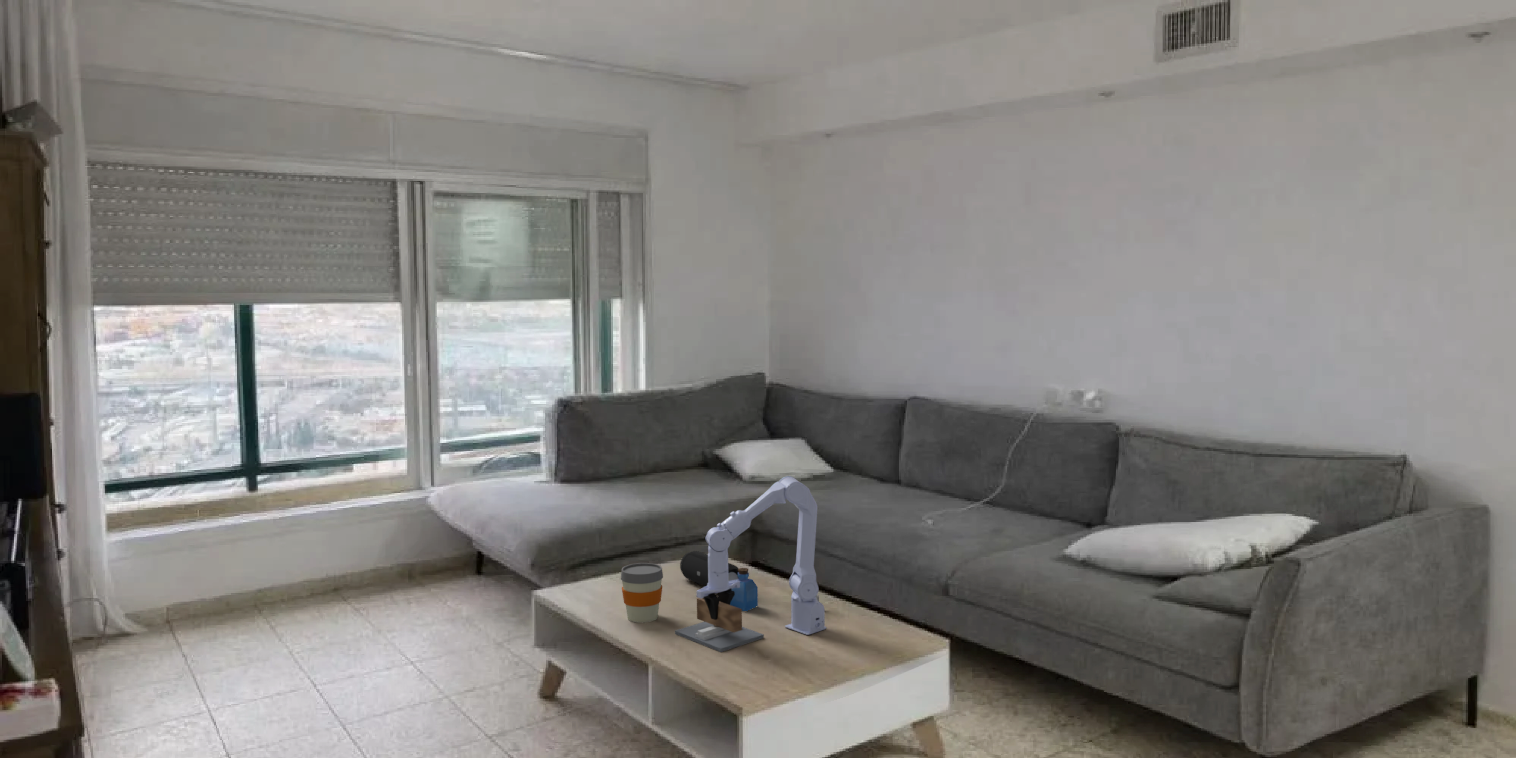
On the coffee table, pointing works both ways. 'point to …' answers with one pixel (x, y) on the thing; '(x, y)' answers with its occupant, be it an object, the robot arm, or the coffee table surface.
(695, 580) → the portable speaker
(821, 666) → the coffee table surface
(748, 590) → the perfume bottle
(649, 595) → the reusable coffee cup
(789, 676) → the coffee table surface
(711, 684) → the coffee table surface
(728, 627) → the walnut bar
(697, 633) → the ridge stand
